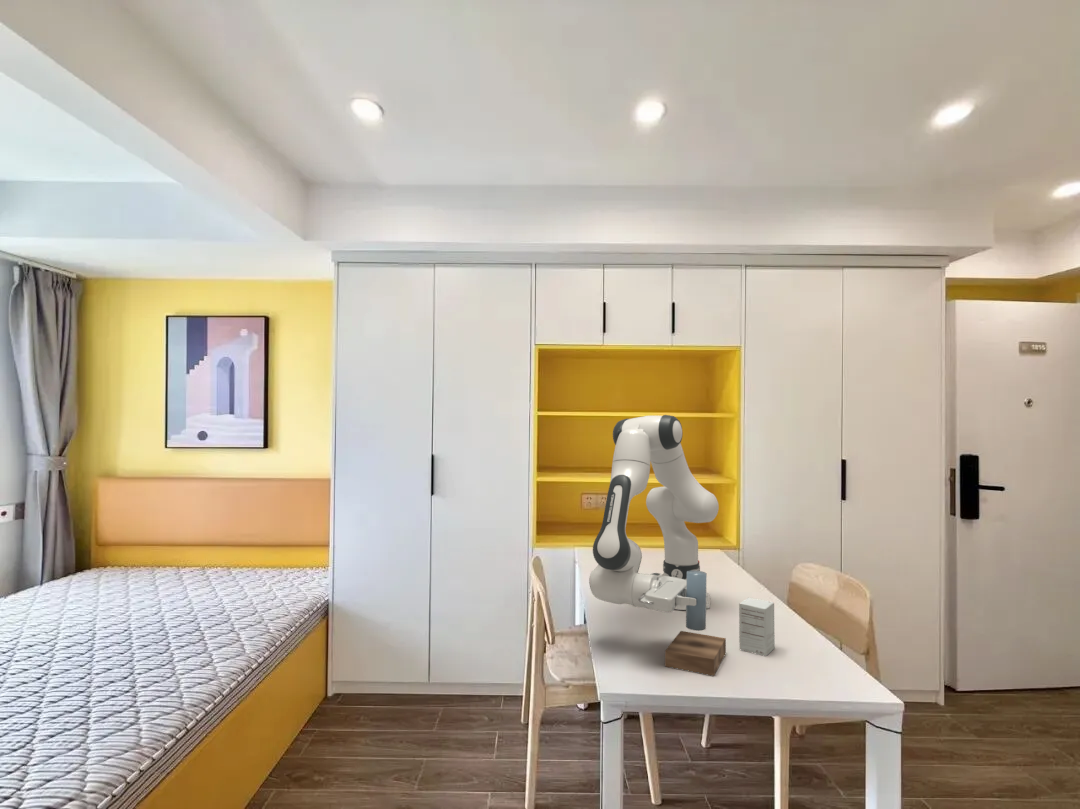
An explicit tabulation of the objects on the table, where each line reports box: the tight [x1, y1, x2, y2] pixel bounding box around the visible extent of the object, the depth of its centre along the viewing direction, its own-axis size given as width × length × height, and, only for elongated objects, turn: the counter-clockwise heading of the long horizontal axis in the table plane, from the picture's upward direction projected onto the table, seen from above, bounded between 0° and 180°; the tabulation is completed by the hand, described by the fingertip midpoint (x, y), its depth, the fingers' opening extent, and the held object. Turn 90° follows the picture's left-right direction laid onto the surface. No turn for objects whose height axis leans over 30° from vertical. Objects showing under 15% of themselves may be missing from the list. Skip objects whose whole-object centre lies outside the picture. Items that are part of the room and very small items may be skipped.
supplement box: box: [738, 597, 776, 657], centre depth 164 cm, size 7×7×13 cm
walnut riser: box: [664, 630, 727, 677], centre depth 157 cm, size 16×12×4 cm
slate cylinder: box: [685, 570, 708, 632], centre depth 157 cm, size 5×5×14 cm
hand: (699, 598), depth 157 cm, fingers closed on slate cylinder, 5 cm apart
